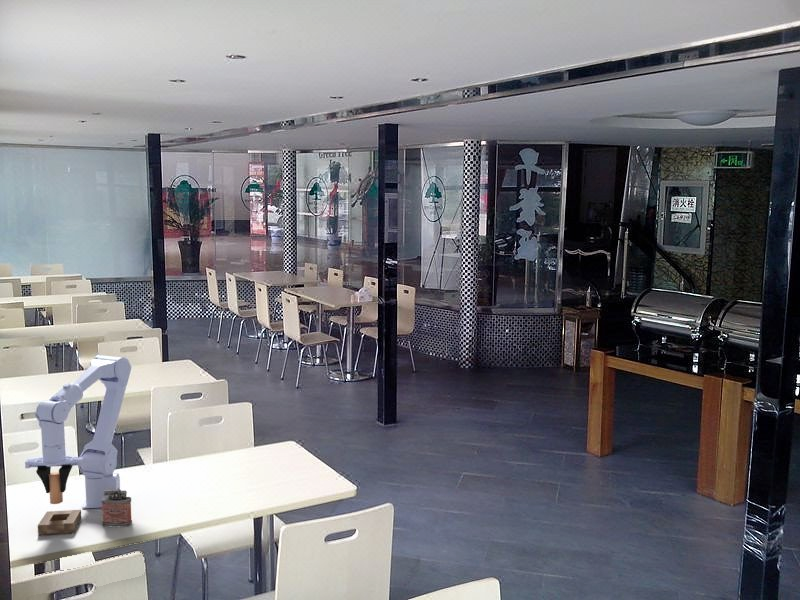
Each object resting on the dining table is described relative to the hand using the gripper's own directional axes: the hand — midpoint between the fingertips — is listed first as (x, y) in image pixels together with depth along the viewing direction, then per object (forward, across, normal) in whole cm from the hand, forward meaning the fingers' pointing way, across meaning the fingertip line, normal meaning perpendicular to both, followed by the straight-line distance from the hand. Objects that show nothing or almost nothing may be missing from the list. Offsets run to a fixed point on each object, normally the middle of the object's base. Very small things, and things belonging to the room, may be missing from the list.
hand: (55, 491), depth 209 cm
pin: (+3, 0, 0) cm, 3 cm away
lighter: (+10, +16, -1) cm, 19 cm away
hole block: (+10, +1, -1) cm, 10 cm away
